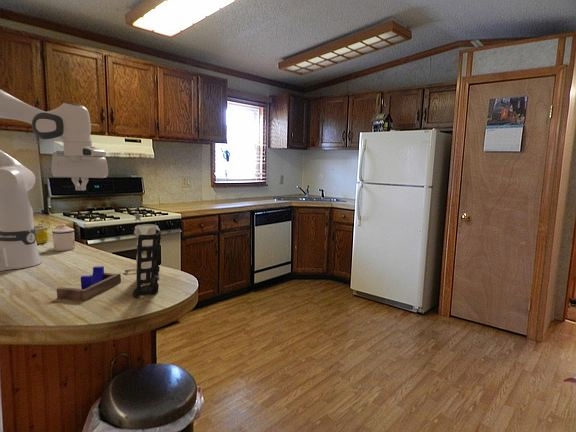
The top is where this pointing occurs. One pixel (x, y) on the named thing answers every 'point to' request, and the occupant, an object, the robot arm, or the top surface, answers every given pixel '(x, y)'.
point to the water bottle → (144, 242)
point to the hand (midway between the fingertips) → (80, 190)
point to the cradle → (89, 288)
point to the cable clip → (93, 277)
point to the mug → (41, 233)
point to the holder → (149, 271)
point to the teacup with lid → (63, 238)
